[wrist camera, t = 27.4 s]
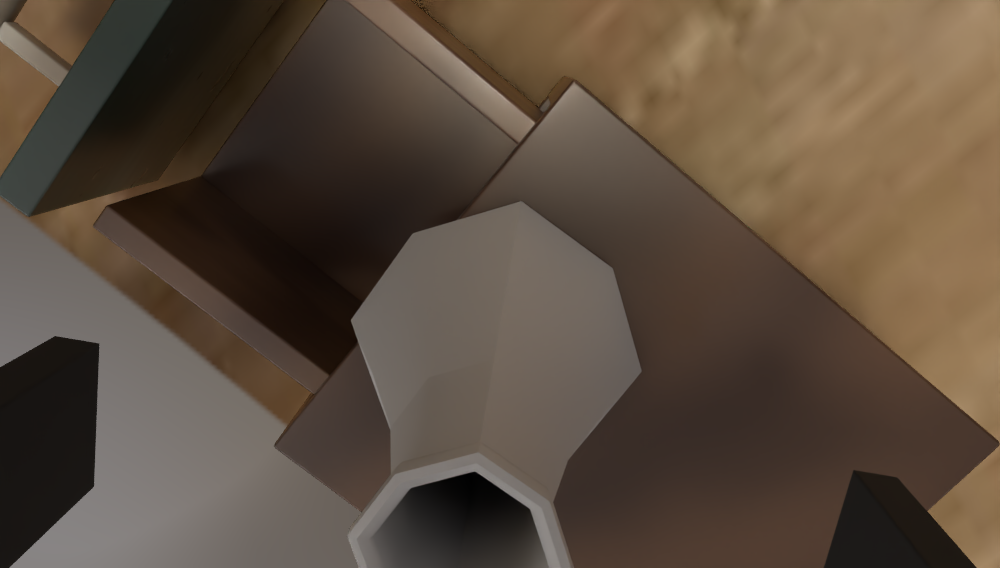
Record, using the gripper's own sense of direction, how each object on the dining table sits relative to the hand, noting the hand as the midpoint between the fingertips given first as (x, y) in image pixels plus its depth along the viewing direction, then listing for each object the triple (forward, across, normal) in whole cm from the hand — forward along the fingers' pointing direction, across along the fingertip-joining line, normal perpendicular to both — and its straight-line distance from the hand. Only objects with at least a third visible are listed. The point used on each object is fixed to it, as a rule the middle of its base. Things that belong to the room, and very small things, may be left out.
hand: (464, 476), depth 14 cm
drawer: (+17, -7, +4) cm, 19 cm away
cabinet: (+18, +4, -2) cm, 18 cm away
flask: (+8, 0, 0) cm, 8 cm away
